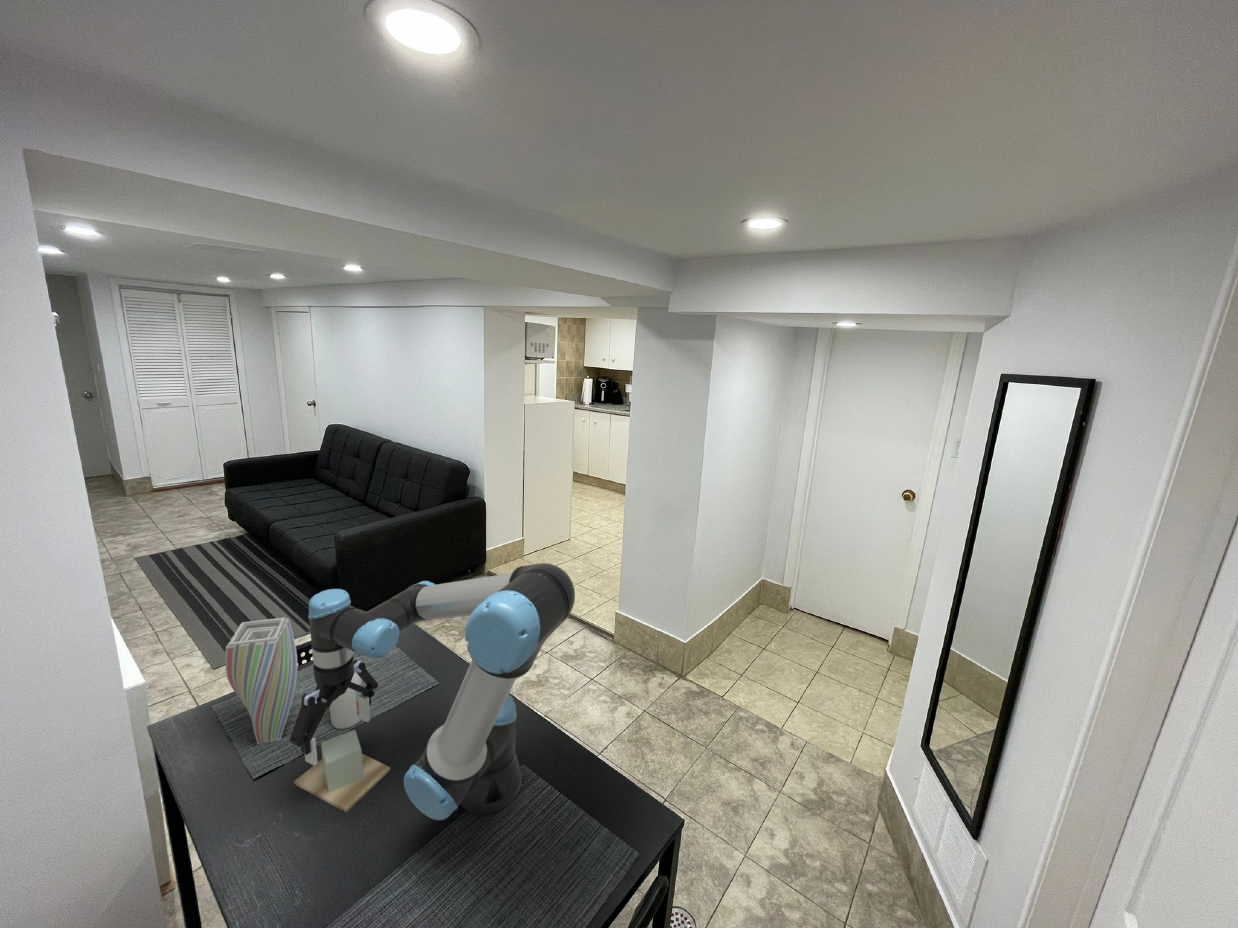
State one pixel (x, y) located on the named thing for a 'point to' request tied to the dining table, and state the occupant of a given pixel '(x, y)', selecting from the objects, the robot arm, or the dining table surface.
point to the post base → (347, 794)
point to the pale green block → (342, 760)
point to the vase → (264, 673)
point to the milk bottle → (346, 707)
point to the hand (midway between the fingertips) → (339, 739)
